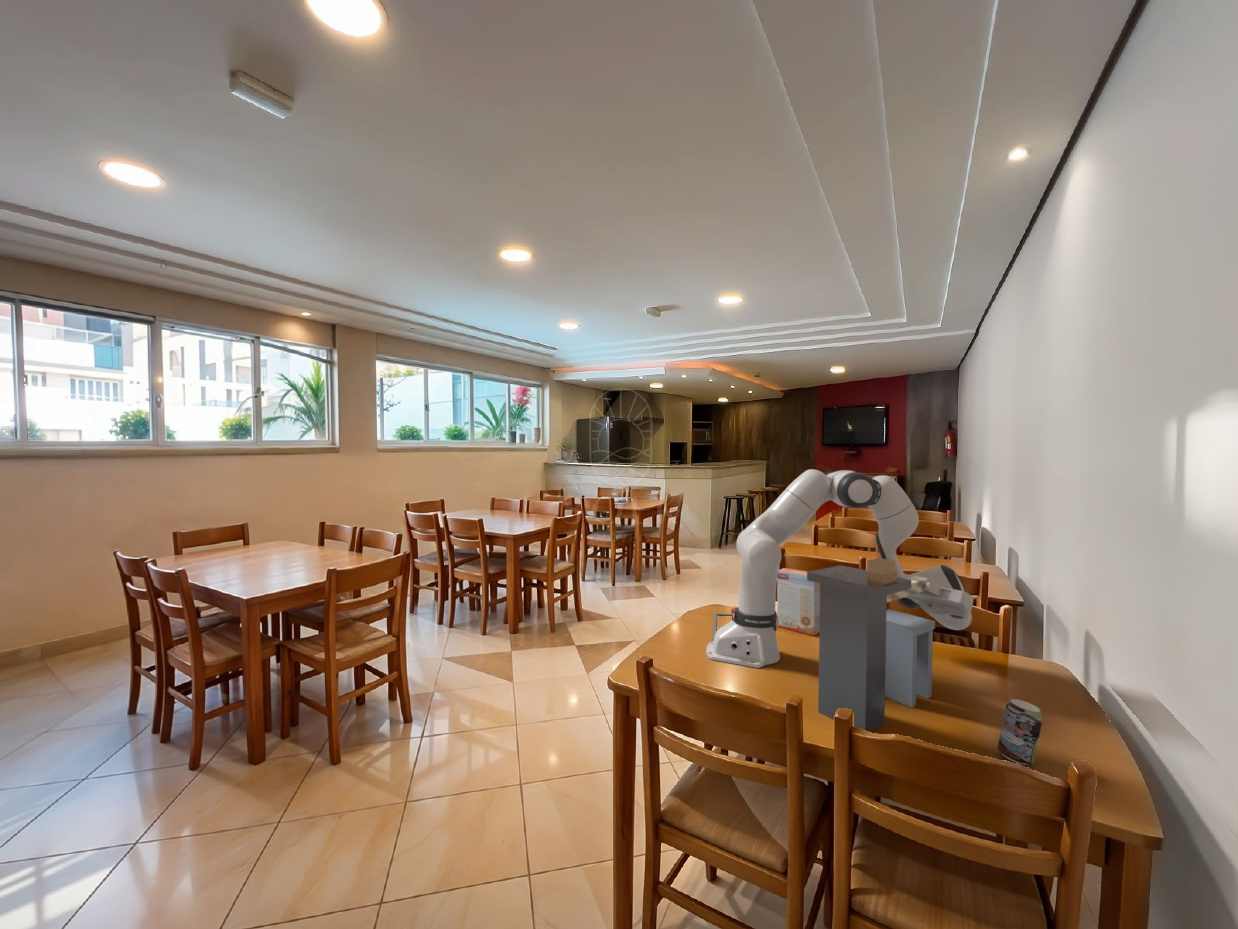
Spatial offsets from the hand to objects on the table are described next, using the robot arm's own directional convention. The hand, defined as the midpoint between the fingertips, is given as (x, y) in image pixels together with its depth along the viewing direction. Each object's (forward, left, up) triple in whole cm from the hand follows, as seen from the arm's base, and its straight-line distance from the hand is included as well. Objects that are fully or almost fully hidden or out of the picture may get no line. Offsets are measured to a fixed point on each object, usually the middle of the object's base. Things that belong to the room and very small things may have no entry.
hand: (916, 582), depth 139 cm
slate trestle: (-5, -5, -28) cm, 29 cm away
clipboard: (-46, +35, -29) cm, 65 cm away
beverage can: (+11, -31, -29) cm, 44 cm away
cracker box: (-26, +39, -29) cm, 55 cm away
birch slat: (-5, -5, -2) cm, 7 cm away
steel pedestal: (-19, -21, -28) cm, 40 cm away
